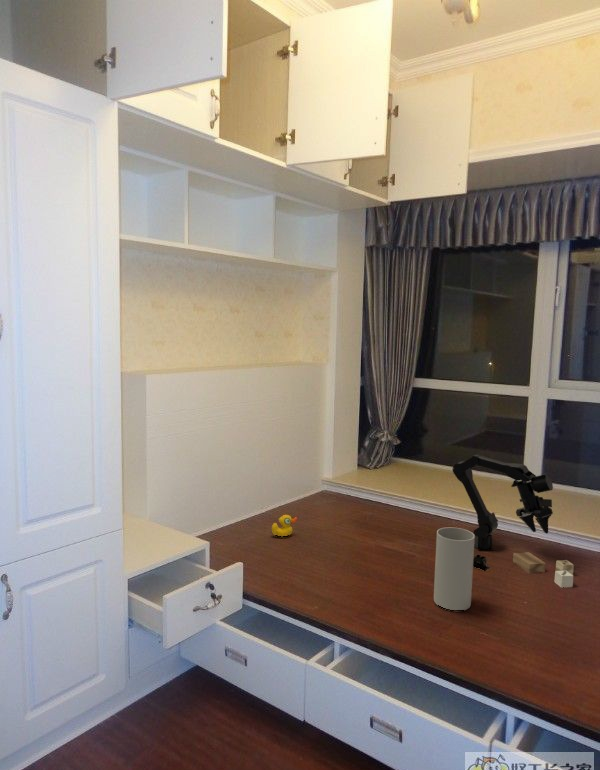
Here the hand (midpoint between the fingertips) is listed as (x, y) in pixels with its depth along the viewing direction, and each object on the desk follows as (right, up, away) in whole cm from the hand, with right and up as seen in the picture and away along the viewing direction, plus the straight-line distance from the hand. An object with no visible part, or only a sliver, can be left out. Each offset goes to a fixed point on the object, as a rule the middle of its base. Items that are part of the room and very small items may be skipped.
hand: (540, 532), depth 232 cm
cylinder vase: (-45, -16, -33) cm, 58 cm away
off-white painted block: (+1, -15, -17) cm, 23 cm away
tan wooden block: (-6, -14, -2) cm, 15 cm away
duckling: (-105, -9, +25) cm, 108 cm away
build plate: (-26, -14, -2) cm, 29 cm away
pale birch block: (+6, -14, -8) cm, 17 cm away
